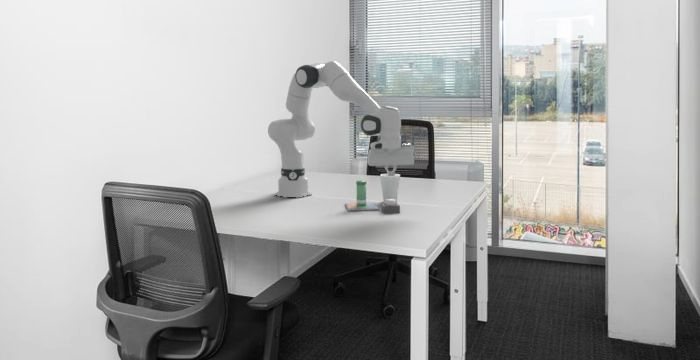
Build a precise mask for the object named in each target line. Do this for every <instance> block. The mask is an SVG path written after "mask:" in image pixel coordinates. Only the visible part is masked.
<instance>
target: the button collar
mask: <svg viewBox="0 0 700 360" xmlns="http://www.w3.org/2000/svg"><path fill="white" fill-rule="evenodd" d="M380 207H381V209H380V210H381V212H383V214H391V213H392V214H394V213H395V214H396V213H400V212H401V206H400V204H399V203H398V202H396V205H393V206H386V205H385V202H382V203H381V206H380Z"/></svg>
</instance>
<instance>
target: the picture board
mask: <svg viewBox="0 0 700 360" xmlns="http://www.w3.org/2000/svg"><path fill="white" fill-rule="evenodd" d="M344 203H345V202H344ZM344 205H345V207H346V210H347V211H348V212H368V211H369V212H373V211H374V212H375V211H380V210H381V209H380V207H379V206H378V205H377V203H375V202H366V206H357V202H346V203H345V204H344Z"/></svg>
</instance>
